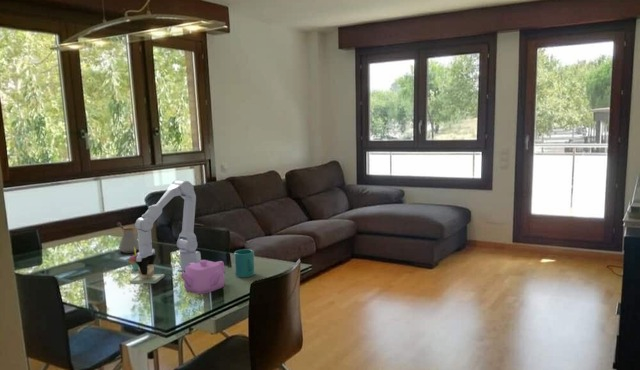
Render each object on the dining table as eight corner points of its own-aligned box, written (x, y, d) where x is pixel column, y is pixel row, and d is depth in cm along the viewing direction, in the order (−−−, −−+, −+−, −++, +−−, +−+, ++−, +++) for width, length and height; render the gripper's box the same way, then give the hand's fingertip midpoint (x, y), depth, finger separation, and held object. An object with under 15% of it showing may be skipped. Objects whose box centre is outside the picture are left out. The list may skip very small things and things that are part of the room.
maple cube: (154, 274, 220) (153, 264, 219) (149, 278, 215) (148, 267, 214) (144, 274, 220) (143, 264, 220) (138, 278, 216) (138, 267, 215)
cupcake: (141, 271, 231) (139, 247, 229) (125, 270, 233) (123, 247, 231) (150, 266, 239) (149, 243, 238) (135, 265, 241) (133, 242, 240)
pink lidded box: (226, 280, 214) (224, 254, 212) (222, 293, 197) (221, 265, 196) (187, 283, 212) (186, 256, 210) (181, 296, 195) (179, 267, 194)
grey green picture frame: (164, 276, 222) (164, 274, 222) (155, 283, 212) (155, 281, 212) (140, 276, 223) (140, 273, 223) (129, 283, 214) (129, 280, 213)
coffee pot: (143, 251, 270) (141, 225, 268) (123, 255, 262) (121, 228, 261) (129, 244, 286) (128, 220, 284) (110, 248, 278) (108, 223, 276)
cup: (245, 281, 213) (243, 256, 212) (231, 275, 222) (230, 251, 221) (261, 276, 219) (261, 253, 217) (248, 270, 228) (247, 248, 226)
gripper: (144, 239, 223) (146, 267, 225) (128, 247, 209) (131, 277, 211) (158, 239, 223) (160, 267, 224) (144, 247, 208) (146, 277, 210)
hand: (147, 272), depth 217 cm, fingers closed on maple cube, 5 cm apart
